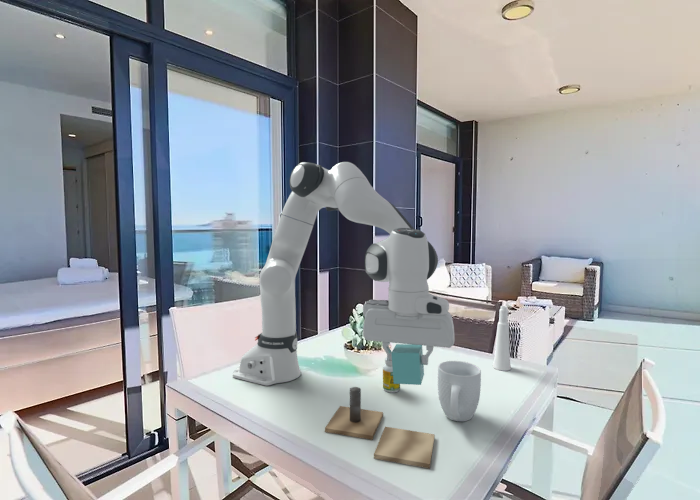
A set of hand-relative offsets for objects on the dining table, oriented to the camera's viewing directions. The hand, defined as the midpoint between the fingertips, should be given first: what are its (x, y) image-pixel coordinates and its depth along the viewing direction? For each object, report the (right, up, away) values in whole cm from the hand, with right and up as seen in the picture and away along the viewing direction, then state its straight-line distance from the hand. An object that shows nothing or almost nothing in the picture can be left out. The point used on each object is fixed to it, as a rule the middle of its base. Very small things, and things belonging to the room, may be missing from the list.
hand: (407, 362), depth 89 cm
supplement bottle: (0, -18, +33) cm, 37 cm away
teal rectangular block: (0, -4, +1) cm, 4 cm away
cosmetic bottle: (+41, -17, +51) cm, 67 cm away
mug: (+15, -19, +15) cm, 29 cm away
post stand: (-12, -19, +12) cm, 25 cm away
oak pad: (0, -20, +1) cm, 20 cm away
